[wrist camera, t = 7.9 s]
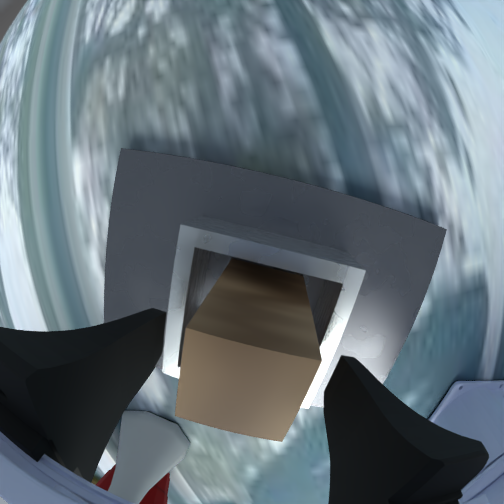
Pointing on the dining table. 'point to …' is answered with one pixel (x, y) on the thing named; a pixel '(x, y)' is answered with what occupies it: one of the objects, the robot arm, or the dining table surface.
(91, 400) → the robot arm
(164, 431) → the flask
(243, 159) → the dining table surface
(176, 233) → the post socket base
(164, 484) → the plastic cup
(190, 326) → the walnut rail post
